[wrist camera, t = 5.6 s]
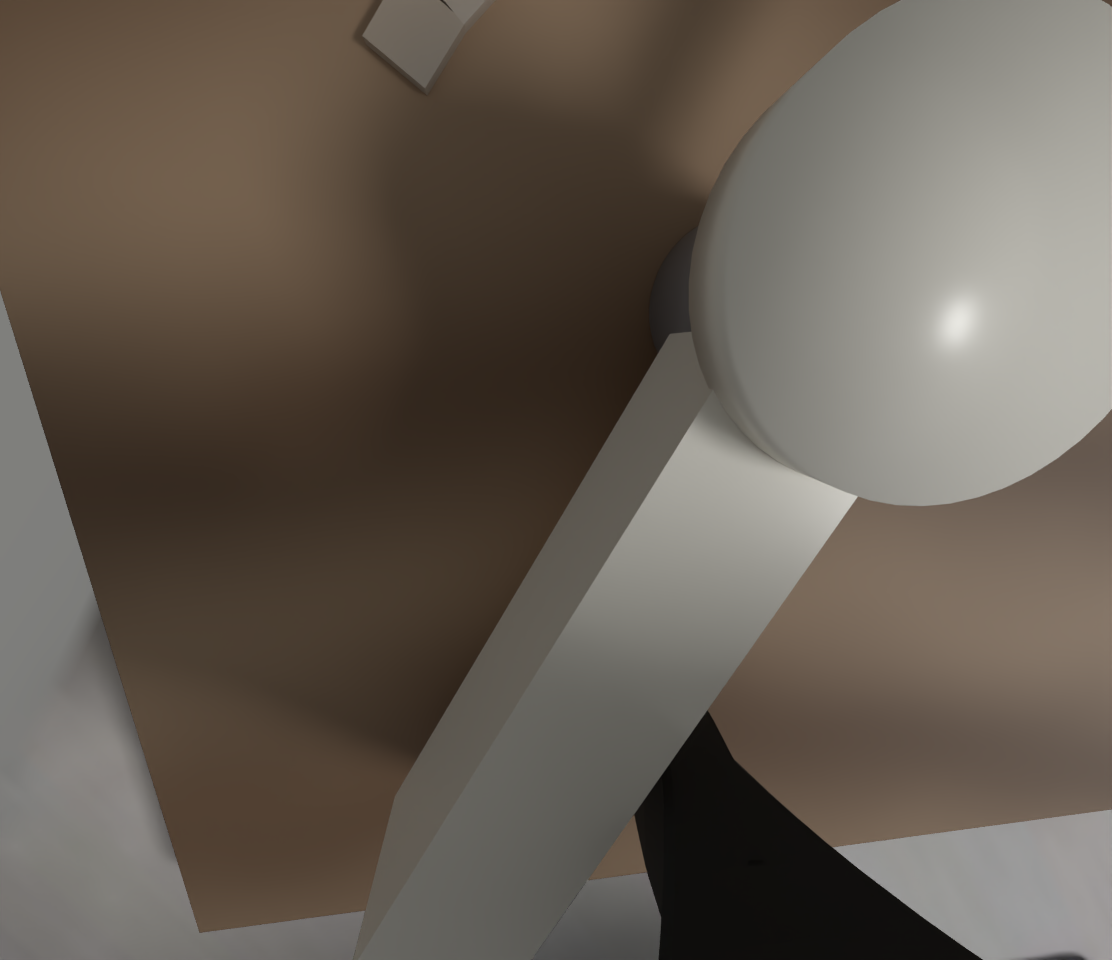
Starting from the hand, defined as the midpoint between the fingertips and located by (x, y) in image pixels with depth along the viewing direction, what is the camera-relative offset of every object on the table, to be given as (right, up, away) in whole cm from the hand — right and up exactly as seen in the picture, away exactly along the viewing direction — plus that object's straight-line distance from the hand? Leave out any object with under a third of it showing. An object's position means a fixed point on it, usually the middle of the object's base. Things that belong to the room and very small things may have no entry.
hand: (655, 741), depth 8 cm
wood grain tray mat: (+1, +5, +1) cm, 6 cm away
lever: (0, +5, 0) cm, 5 cm away
